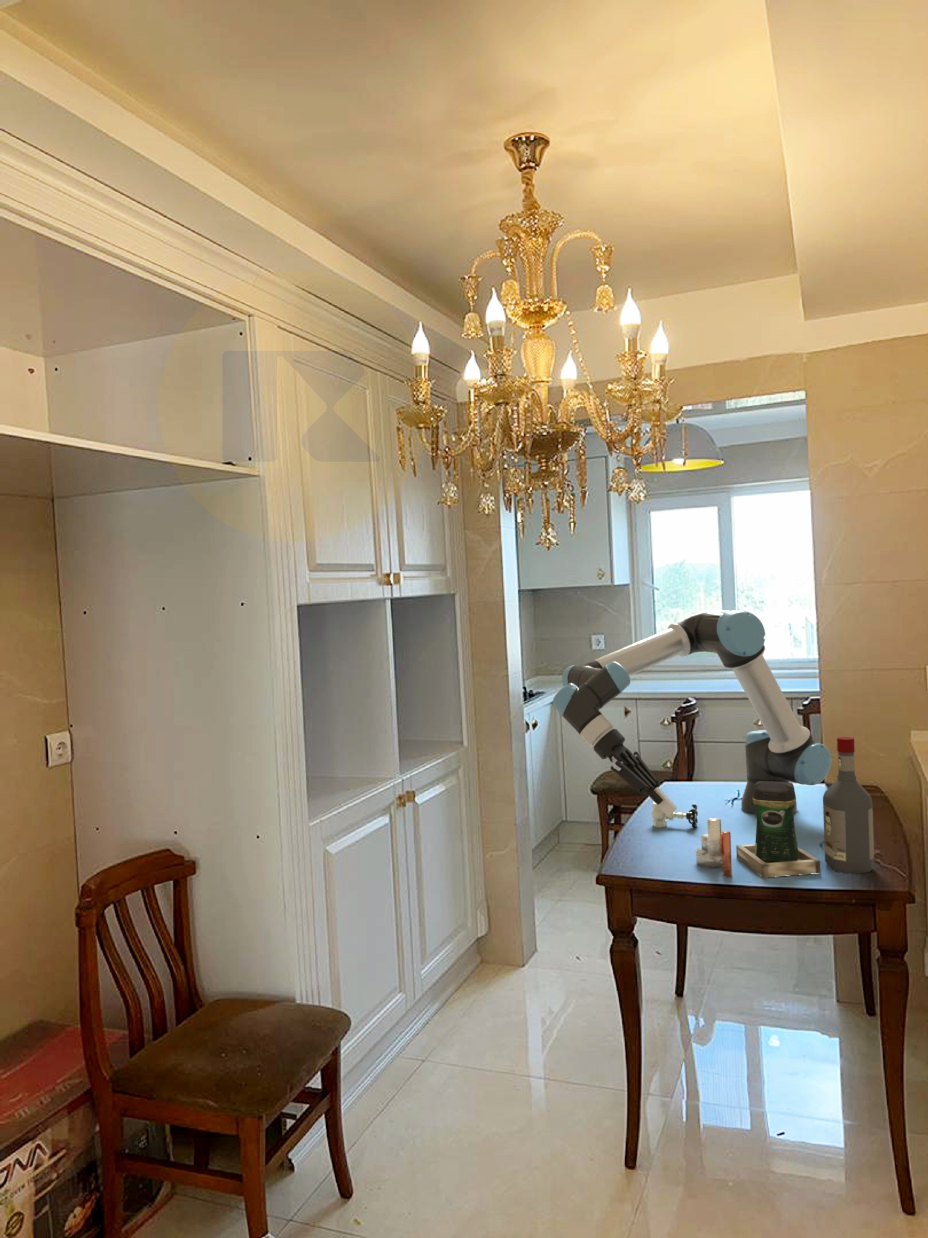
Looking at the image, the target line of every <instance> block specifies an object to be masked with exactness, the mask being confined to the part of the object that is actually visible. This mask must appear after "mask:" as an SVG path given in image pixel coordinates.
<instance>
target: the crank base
mask: <svg viewBox="0 0 928 1238" xmlns="http://www.w3.org/2000/svg"><path fill="white" fill-rule="evenodd" d="M721 836H722V856H720V858H711V857H710V855H709V853H708V852H707V851H704V850H702V846H701V847H699V848H697V849H695V857H696V865H697V866H699V867H701V868H706V869H720V868H722V876H723V877H724V876H725V877H726V878H731V877H733V869H732V867H733V866H732V865H733V863H732V843H731V842H732V840H731V837H732V836H731V831H728V830H723V831H722V830H721ZM725 877H724V878H725Z"/></svg>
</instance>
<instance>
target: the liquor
mask: <svg viewBox="0 0 928 1238" xmlns="http://www.w3.org/2000/svg"><path fill="white" fill-rule="evenodd" d="M855 749H856V748H855V737H850V736H838V737H837V738H836V750H837V758H838V759H837V765H838V766H837V768H838V769H837V771H838V773H837V775H836V778H837V779H836V780H835V781H834V782H833V783H832V784H831V785H830V786H829V787H828V788H827V789H826V790H825V791H824V792H823V795H822V810H823V811H822V812H823V842H824V862H825V863H826V865H827V866H828V867H829V866H830V868H831V869H832V870H833V869H834V870H833V871H834V872H837V873H841V872H842V873H843V874H846V873H847V874H848V873H850V874H866V873H870V872H871V871H872V870H873V869H874V867H875V843H874V841H875V838H874V809H873V799H872V796H871V794H870V793H869V792H868V791H867V789H865V788H864V787H863V786H862V784H860V782H859V781H858V780H857V776H856V769H855V752H856V751H855ZM842 873H841V874H842ZM848 875H849V874H848Z"/></svg>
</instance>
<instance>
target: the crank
mask: <svg viewBox="0 0 928 1238" xmlns="http://www.w3.org/2000/svg"><path fill="white" fill-rule="evenodd" d="M706 821H707V822H706V823H707V824H706V825H707V833H706V834H705V833H704V834H702V835H701V836H700V838H701V839H700V841H701V847H702V850H704V851H707V852H708V853H709V855H710V857H711V858H720V856H722V836H721V832H722V820H721V819H720V818H715V817H712V818H711V817H710V818H707V819H706Z"/></svg>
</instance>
